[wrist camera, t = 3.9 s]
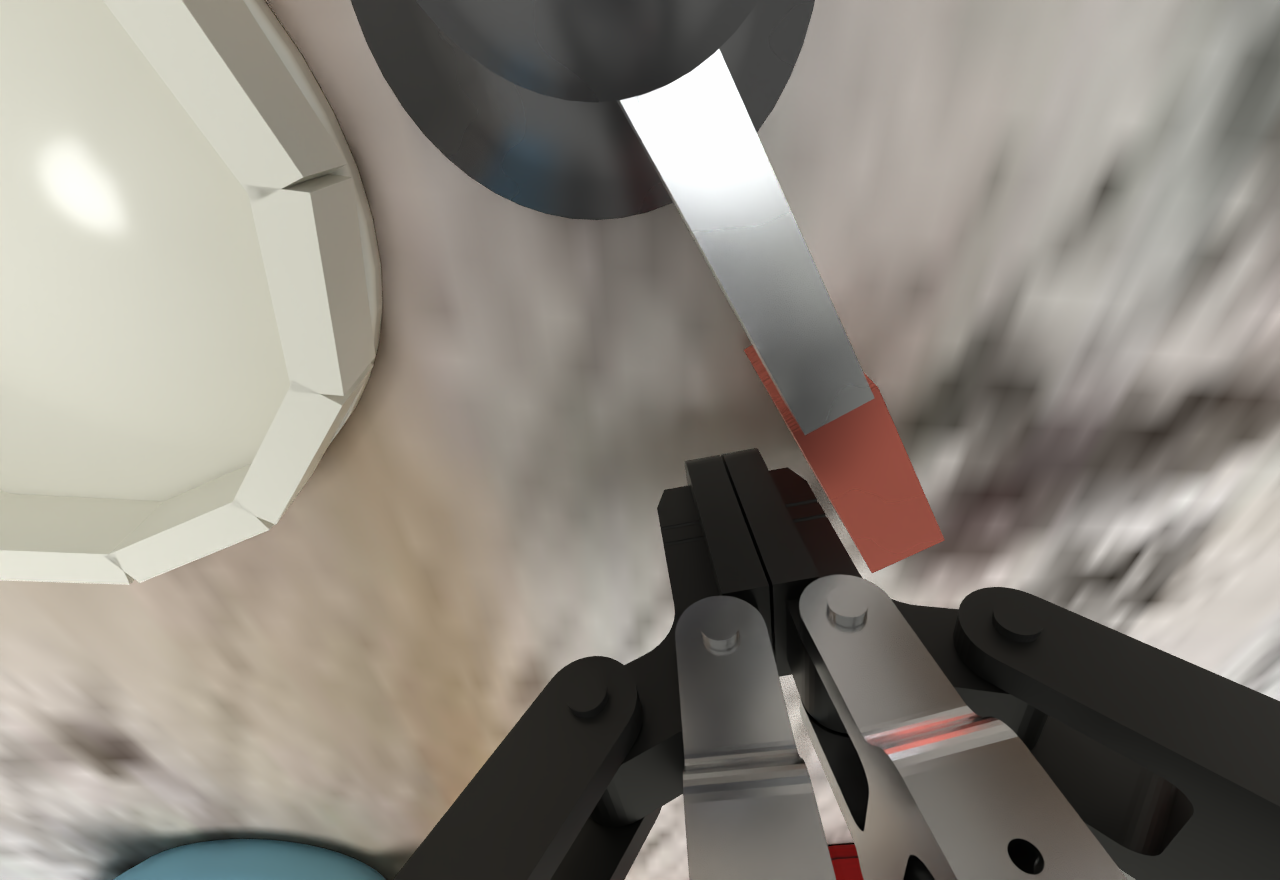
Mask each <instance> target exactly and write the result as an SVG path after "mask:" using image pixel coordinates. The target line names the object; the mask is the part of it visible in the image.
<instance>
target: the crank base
mask: <svg viewBox="0 0 1280 880" xmlns="http://www.w3.org/2000/svg"><path fill="white" fill-rule="evenodd" d="M814 1H815V0H351V2H352V5H353V8H354V11H355V13H356V16H357V18H358V21H359V24H360V26H361V29H362V32H363V34H364V37H365V40H366V42H367V44H368V46H369V48H370V50H371V52H372V54H373V56H374V58H375V60H376V62H377V64H378V66H379V68H380V70H381V72H382V74H383V76H384V78H385V80H386V81H387V83H388V84H389V86H390V88H391V89H392V91H393V92H394V94H395V95H396V97H397V99H398V100H399V102H400V103H401V105H402V107H403V108H404V109H405V111H406V112H407V113H408V114H409V116H410V117H411V118H412V119H413V121H414V122H415V123H416V125H417V126H418V127H419V128H420V130H421V131H422V132H423V134H424V135H425V136H426V137H427V138H428V139H429V140H430V141H431V142H432V143H433V144H434V145H435V146H436V147H437V148H438V149H439V150H440V151H441V152H442V153H443V154H444V155H445V156H446V157H447V158H448V159H449V160H450V161H452V162H453V163H454V164H455V165H456V166H458V167H459V168H460V169H461V170H462V171H464V172H465V173H466V174H467V175H469V176H470V177H471V178H473V179H474V180H476V181H477V182H479V183H480V184H482V185H484V186H485V187H487V188H488V189H490V190H491V191H493V192H494V193H496V194H498V195H501V196H503V197H505V198H507V199H509V200H511V201H513V202H515V203H517V204H519V205H522V206H525V207H528V208H531V209H534V210H537V211H540V212H543V213H546V214H551V215H556V216H561V217H566V218H572V219H590V220H601V219H613V218H623V217H628V216H632V215H637V214H641V213H645V212H649V211H651V210H654V209H657V208H659V207H662V206H665V205H667V204H670V203H672V202H673V201H672V199H671V198H670V196H669V194H668V192H667V190H666V189H665V187H664V185H663V183H662V181H661V180H660V178H659V176H658V174H657V172H656V171H655V169H654V167H653V165H652V163H651V162H650V160H649V158H648V156H647V154H646V153H645V151H644V149H643V147H642V145H641V144H640V142H639V140H638V138H637V136H636V135H635V133H634V131H633V129H632V127H631V126H630V124H629V122H628V120H627V118H626V117H625V115H624V113H623V111H622V109H621V108H620V106H619V104H618V102H617V101H619V100H623V99H627V98H632V97H636V96H640V95H644V94H647V93H649V92H652V91H654V90H657V89H659V88H662V87H664V86H667V85H669V84H670V83H672V82H674V81H676V80H677V79H679V78H681V77H683V76H684V75H686V74H688V73H689V72H691V71H693V70H694V69H695V68H696V67H698V66H699V65H700V64H702V63H703V62H704V61H705V60H707V59H708V58H709V57H710V56H712V55H713V54H714V53H715V52H716V51H717V50H718V49H719V50H720V52H721V54H722V56H723V59H724V61H725V63H726V65H727V68H728V70H729V72H730V74H731V77H732V79H733V81H734V83H735V86H736V88H737V90H738V92H739V95H740V97H741V99H742V101H743V104H744V106H745V108H746V110H747V113H748V115H749V117H750V119H751V122H752V124H753V126H754V128H755V130H756V133H757V132H758V130H759V129H760V127H761V126H762V124H763V123H764V121H765V120H766V118H767V117H768V115H769V114H770V112H771V111H772V109H773V108H774V106H775V104H776V103H777V101H778V99H779V97H780V95H781V93H782V91H783V89H784V87H785V85H786V84H787V82H788V80H789V78H790V76H791V73H792V71H793V68H794V66H795V63H796V61H797V58H798V56H799V53H800V50H801V48H802V45H803V42H804V39H805V35H806V32H807V28H808V25H809V21H810V18H811V14H812V11H813V6H814Z"/></svg>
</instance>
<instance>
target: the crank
mask: <svg viewBox="0 0 1280 880" xmlns="http://www.w3.org/2000/svg"><path fill="white" fill-rule="evenodd" d="M617 102H618V104H619V106H620V108H621V109H622V111H623V113H624V115H625V117H626V118H627V120H628V122H629V124H630V126H631V127H632V129H633V131H634V133H635V135H636V136H637V138H638V140H639V142H640V144H641V145H642V147H643V149H644V151H645V153H646V154H647V156H648V158H649V160H650V162H651V163H652V165H653V167H654V169H655V171H656V172H657V174H658V176H659V178H660V180H661V181H662V183H663V185H664V187H665V189H666V190H667V192H668V194H669V196H670V198H671V199H672V201H673V203H674V205H675V207H676V208H677V210H678V212H679V214H680V216H681V217H682V219H683V221H684V223H685V224H686V226H687V228H688V230H689V232H690V233H691V235H692V237H693V239H694V241H695V242H696V244H697V246H698V248H699V250H700V251H701V253H702V255H703V257H704V259H705V260H706V262H707V264H708V266H709V268H710V269H711V271H712V273H713V275H714V277H715V278H716V280H717V282H718V284H719V286H720V287H721V289H722V291H723V293H724V295H725V296H726V298H727V300H728V302H729V304H730V305H731V307H732V309H733V311H734V313H735V314H736V316H737V318H738V320H739V322H740V323H741V325H742V327H743V329H744V331H745V332H746V334H747V336H748V338H749V340H750V341H751V343H752V345H751V346H749V347H748V348H746V349H744V351H745V353H746V355H747V357H748V358H749V360H750V362H751V364H752V365H753V367H754V369H755V371H756V372H757V374H758V376H759V378H760V379H761V381H762V383H763V385H764V386H765V388H766V390H767V392H768V394H769V395H770V397H771V399H772V401H773V402H774V404H775V406H776V408H777V409H778V411H779V413H780V415H781V416H782V418H783V420H784V422H785V423H786V425H787V427H788V429H789V430H790V432H791V434H792V436H793V437H794V439H795V441H796V443H797V444H798V446H799V448H800V450H801V452H802V453H803V455H804V457H805V459H806V460H807V462H808V464H809V466H810V467H811V469H812V471H813V473H814V474H815V476H816V478H817V479H818V481H819V483H820V485H821V486H822V488H823V490H824V492H825V493H826V495H827V497H828V498H829V500H830V502H831V504H832V505H833V507H834V509H835V510H836V512H837V514H838V516H839V517H840V519H841V521H842V523H843V524H844V526H845V528H846V529H847V531H848V533H849V535H850V536H851V538H852V540H853V541H854V543H855V545H856V547H857V548H858V550H859V552H860V553H861V555H862V557H863V559H864V560H865V562H866V564H867V566H868V567H869V569H870V571H871V572H872V573H874V572H876V571H878V570H880V569H883V568H885V567H887V566H889V565H891V564H894V563H896V562H898V561H900V560H902V559H905V558H907V557H909V556H911V555H913V554H916V553H918V552H920V551H922V550H924V549H927V548H929V547H931V546H933V545H935V544H938V543H940V542H942V541H944V538H943V535H942V533H941V531H940V528H939V526H938V524H937V521H936V519H935V517H934V515H933V512H932V510H931V508H930V505H929V503H928V501H927V499H926V496H925V494H924V492H923V489H922V487H921V485H920V482H919V480H918V478H917V476H916V473H915V471H914V469H913V466H912V464H911V462H910V460H909V457H908V455H907V453H906V450H905V448H904V446H903V443H902V441H901V439H900V437H899V434H898V432H897V430H896V427H895V425H894V423H893V420H892V418H891V416H890V414H889V411H888V409H887V407H886V404H885V402H884V400H883V398H882V395H881V393H880V391H879V388H878V387H877V386H876V385H875V384H874V383H873V382H872V381H871V380H870V379H869V378H868V377H867V376H866V374H865V373H864V372H863V371H862V369H861V366H860V364H859V362H858V360H857V357H856V355H855V353H854V351H853V348H852V346H851V344H850V342H849V339H848V337H847V335H846V333H845V330H844V328H843V326H842V324H841V321H840V319H839V317H838V315H837V312H836V310H835V308H834V306H833V303H832V301H831V299H830V297H829V294H828V292H827V290H826V288H825V285H824V283H823V281H822V279H821V276H820V274H819V272H818V270H817V267H816V265H815V263H814V261H813V258H812V256H811V254H810V252H809V250H808V247H807V245H806V243H805V241H804V238H803V236H802V234H801V232H800V229H799V227H798V225H797V223H796V220H795V218H794V216H793V214H792V211H791V209H790V207H789V205H788V202H787V200H786V198H785V196H784V193H783V191H782V189H781V187H780V184H779V182H778V180H777V178H776V175H775V173H774V171H773V169H772V166H771V164H770V162H769V160H768V157H767V155H766V153H765V151H764V148H763V146H762V144H761V142H760V139H759V137H758V135H757V133H756V130H755V128H754V126H753V124H752V122H751V119H750V117H749V115H748V113H747V110H746V108H745V106H744V104H743V101H742V99H741V97H740V95H739V92H738V90H737V88H736V86H735V83H734V81H733V79H732V77H731V74H730V72H729V70H728V68H727V65H726V63H725V61H724V59H723V56H722V54H721V52H720V50H719V49H718V50H717V51H716V52H715V53H714V54H713V55H712V56H710V57H709V58H708V59H707V60H705V61H704V62H703V63H702V64H700V65H699V66H698V67H696V68H695V69H694V70H693V71H691V72H689V73H688V74H686V75H684V76H683V77H681V78H679V79H677V80H676V81H674V82H672V83H670V84H669V85H667V86H664V87H662V88H659V89H657V90H654V91H652V92H649V93H647V94H644V95H640V96H636V97H632V98H627V99H623V100H619V101H617Z"/></svg>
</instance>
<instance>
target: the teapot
mask: <svg viewBox="0 0 1280 880" xmlns="http://www.w3.org/2000/svg"><path fill="white" fill-rule="evenodd" d="M113 880H386V879H385V878H384V877H383V876H382V875H381V874H380V873H378V872H377V871H376V870H375V869H373V868H371V867H370V866H368V865H366V864H365V863H363V862H361V861H358V860H356V859H354V858H352V857H349V856H347V855H344V854H341V853H338V852H335V851H332V850H328V849H325V848H321V847H316V846H311V845H307V844H301V843H294V842H288V841H278V840H265V839H227V840H213V841H206V842H198V843H193V844H188V845H183V846H179V847H176V848H172V849H169V850H166V851H163V852H161V853H158V854H156V855H153V856H151V857H150V858H148V859H146V860H145V861H143V862H141V863H140V864H138V865H136V866H134V867H133V868H131V869H129V870H127V871H126V872H124V873H123V874H121V875H119V876H118V877H116V878H115V879H113Z"/></svg>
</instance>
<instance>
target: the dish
mask: <svg viewBox="0 0 1280 880" xmlns="http://www.w3.org/2000/svg"><path fill="white" fill-rule="evenodd" d="M382 307H383V303H382V280H381V262H380V257H379V251H378V245H377V240H376V234H375V229H374V223H373V217H372V214H371V211H370V208H369V204H368V201H367V198H366V195H365V191H364V188H363V185H362V181H361V178H360V175H359V172H358V168H357V166H356V163H355V161H354V159H353V156H352V154H351V152H350V149H349V147H348V145H347V142H346V140H345V138H344V135H343V133H342V131H341V128H340V126H339V124H338V121H337V119H336V117H335V115H334V112H333V110H332V109H331V107H330V105H329V103H328V101H327V100H326V98H325V96H324V94H323V92H322V91H321V89H320V87H319V85H318V83H317V82H316V80H315V78H314V76H313V74H312V73H311V71H310V69H309V67H308V65H307V64H306V62H305V60H304V58H303V56H302V55H301V53H300V52H299V50H298V49H297V47H296V46H295V44H294V43H293V41H292V40H291V38H290V37H289V36H288V34H287V33H286V31H285V30H284V28H283V27H282V25H281V24H280V22H279V21H278V20H277V18H276V17H275V15H274V14H273V12H272V11H271V9H270V8H269V6H268V5H267V4H266V2H265V1H264V0H0V580H6V581H37V582H67V583H98V584H128V585H130V584H131V583H132V582H133V581H134V580H136V581H137V582H139V583H141V582H143V581H146V580H148V579H151V578H153V577H156V576H158V575H161V574H163V573H165V572H168V571H170V570H173V569H175V568H178V567H180V566H183V565H185V564H187V563H190V562H192V561H195V560H197V559H200V558H202V557H205V556H207V555H209V554H212V553H214V552H217V551H219V550H222V549H224V548H227V547H229V546H231V545H234V544H236V543H239V542H241V541H244V540H246V539H249V538H251V537H253V536H256V535H258V534H261V533H263V532H266V531H268V530H270V529H271V527H272V526H273V525H274V524H275V525H276V524H277V523H278V521H279V520H280V518H281V517H282V516H283V514H284V513H285V512H286V510H287V509H288V507H289V506H290V505H291V503H292V502H293V501H294V499H295V498H296V496H297V495H298V494H299V492H300V491H301V489H302V488H303V487H304V485H305V484H306V483H307V481H308V480H309V478H310V477H311V476H312V474H313V472H314V471H315V469H316V467H317V465H318V463H319V462H320V460H321V458H322V456H323V455H324V453H325V451H326V449H327V448H328V446H329V445H330V443H331V442H332V441H333V439H334V438H335V437H336V435H337V434H338V433H339V431H340V430H341V428H342V427H343V425H344V424H345V422H346V421H347V420H348V418H349V417H350V415H351V414H352V412H353V411H354V409H355V408H356V406H357V404H358V402H359V400H360V398H361V395H362V393H363V391H364V389H365V387H366V385H367V382H368V380H369V378H370V375H371V371H372V368H373V366H374V365H373V363H374V360H375V357H376V352H377V349H378V345H379V336H380V327H381V317H382Z"/></svg>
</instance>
